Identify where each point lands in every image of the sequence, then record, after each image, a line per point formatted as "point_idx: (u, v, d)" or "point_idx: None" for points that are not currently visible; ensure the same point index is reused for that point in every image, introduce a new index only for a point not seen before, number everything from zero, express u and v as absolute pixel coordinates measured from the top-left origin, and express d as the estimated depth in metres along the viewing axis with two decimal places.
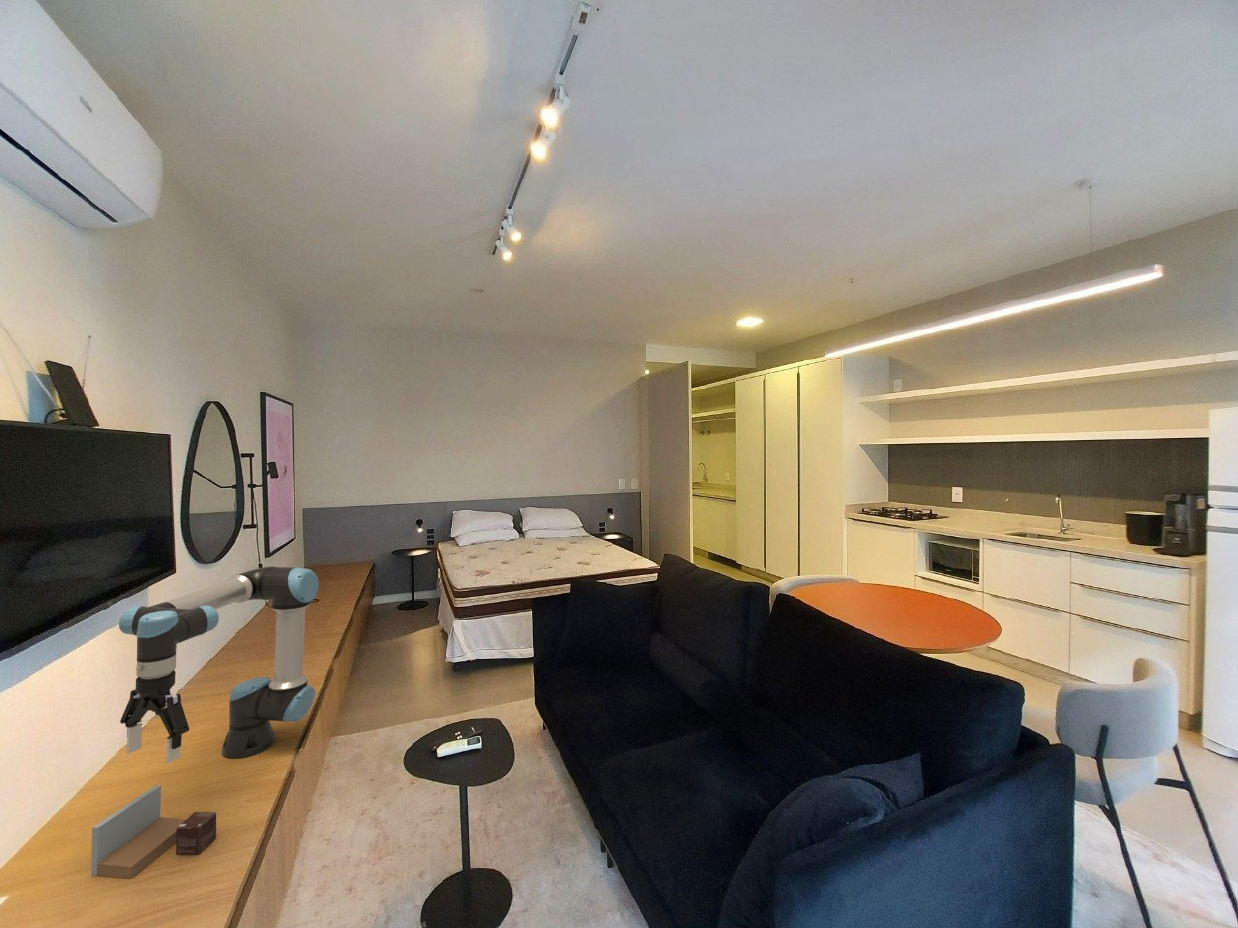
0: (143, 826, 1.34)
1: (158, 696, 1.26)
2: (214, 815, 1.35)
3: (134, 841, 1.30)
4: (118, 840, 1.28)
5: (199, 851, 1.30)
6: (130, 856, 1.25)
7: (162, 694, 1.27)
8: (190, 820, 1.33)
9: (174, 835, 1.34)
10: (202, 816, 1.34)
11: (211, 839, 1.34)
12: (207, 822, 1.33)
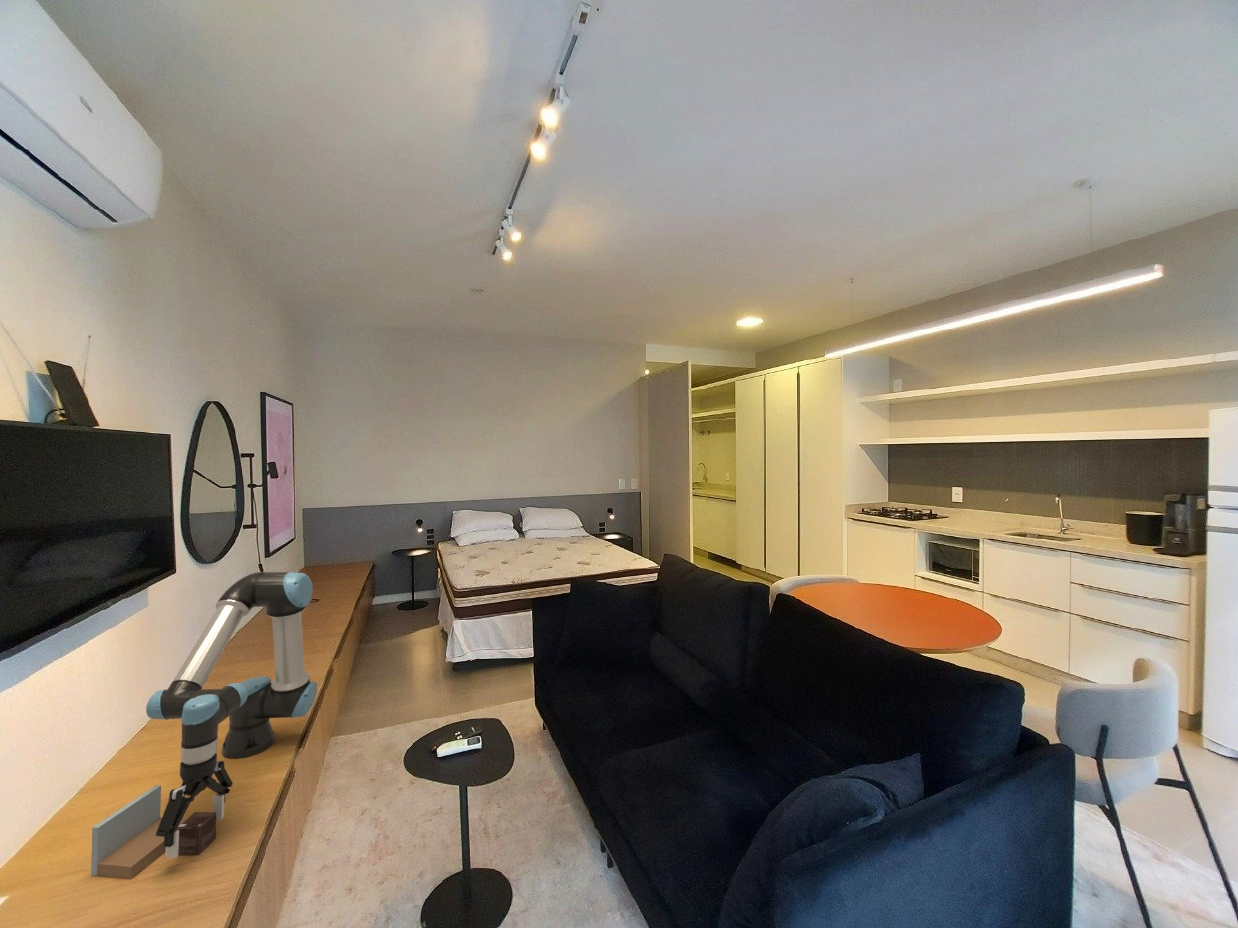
0: (143, 826, 1.34)
1: None
2: (214, 815, 1.35)
3: (134, 841, 1.30)
4: (118, 840, 1.28)
5: (199, 851, 1.30)
6: (130, 856, 1.25)
7: None
8: (190, 820, 1.33)
9: None
10: (202, 816, 1.34)
11: (211, 839, 1.34)
12: (207, 822, 1.33)
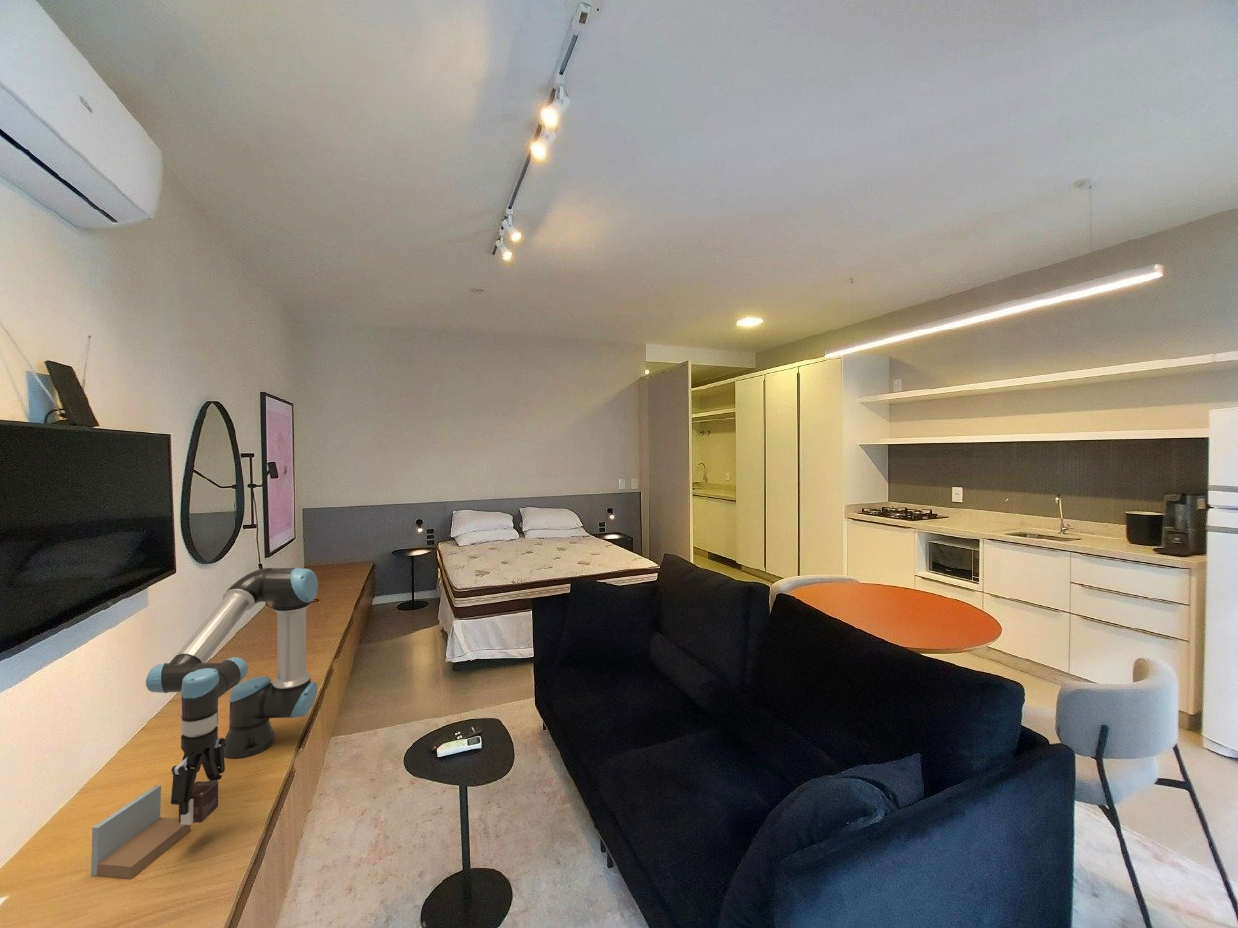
0: (143, 826, 1.34)
1: None
2: (216, 784, 1.36)
3: (134, 841, 1.30)
4: (118, 840, 1.28)
5: (201, 819, 1.31)
6: (130, 856, 1.25)
7: None
8: None
9: (174, 835, 1.34)
10: (204, 785, 1.35)
11: (213, 808, 1.35)
12: (209, 791, 1.33)
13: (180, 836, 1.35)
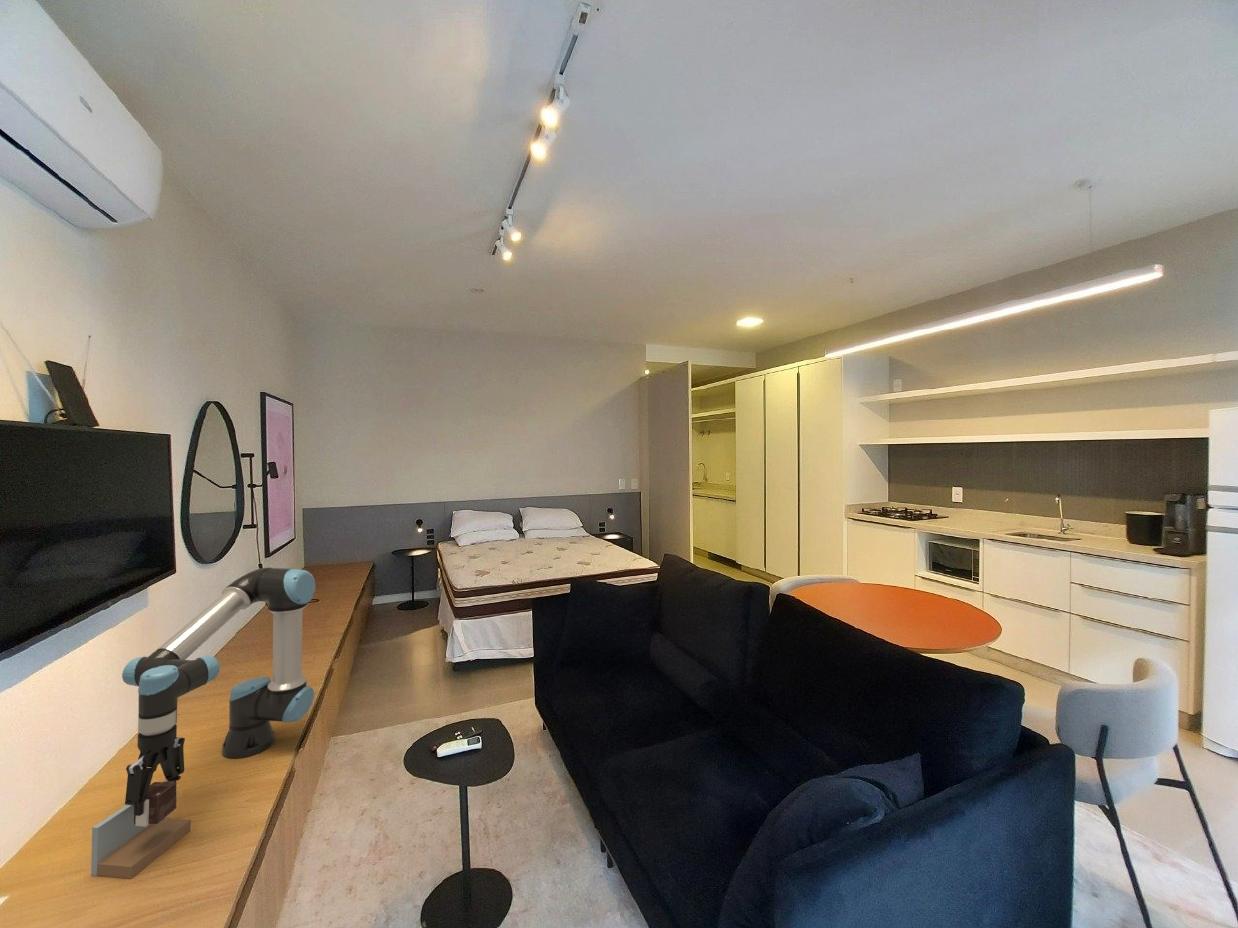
0: (143, 826, 1.34)
1: None
2: (174, 785, 1.33)
3: (134, 841, 1.30)
4: (118, 840, 1.28)
5: (157, 820, 1.28)
6: (130, 856, 1.25)
7: None
8: (149, 789, 1.30)
9: (174, 835, 1.34)
10: (161, 786, 1.32)
11: (171, 809, 1.32)
12: (166, 791, 1.30)
13: (180, 836, 1.35)
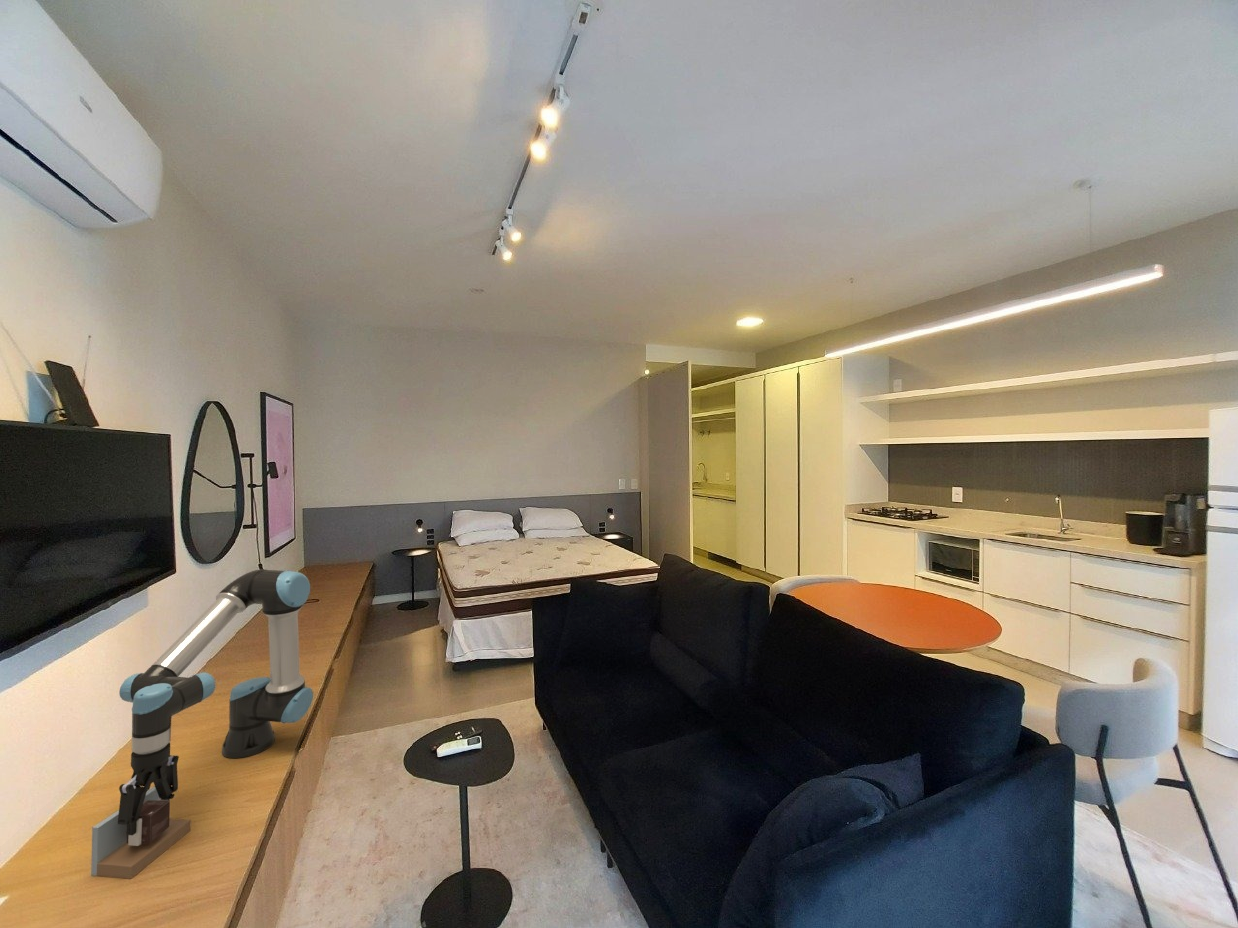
0: None
1: None
2: (167, 803, 1.33)
3: None
4: (118, 840, 1.28)
5: (150, 840, 1.28)
6: (130, 856, 1.25)
7: None
8: (142, 808, 1.30)
9: (174, 835, 1.34)
10: (155, 804, 1.32)
11: (164, 828, 1.32)
12: (159, 810, 1.30)
13: (180, 836, 1.35)
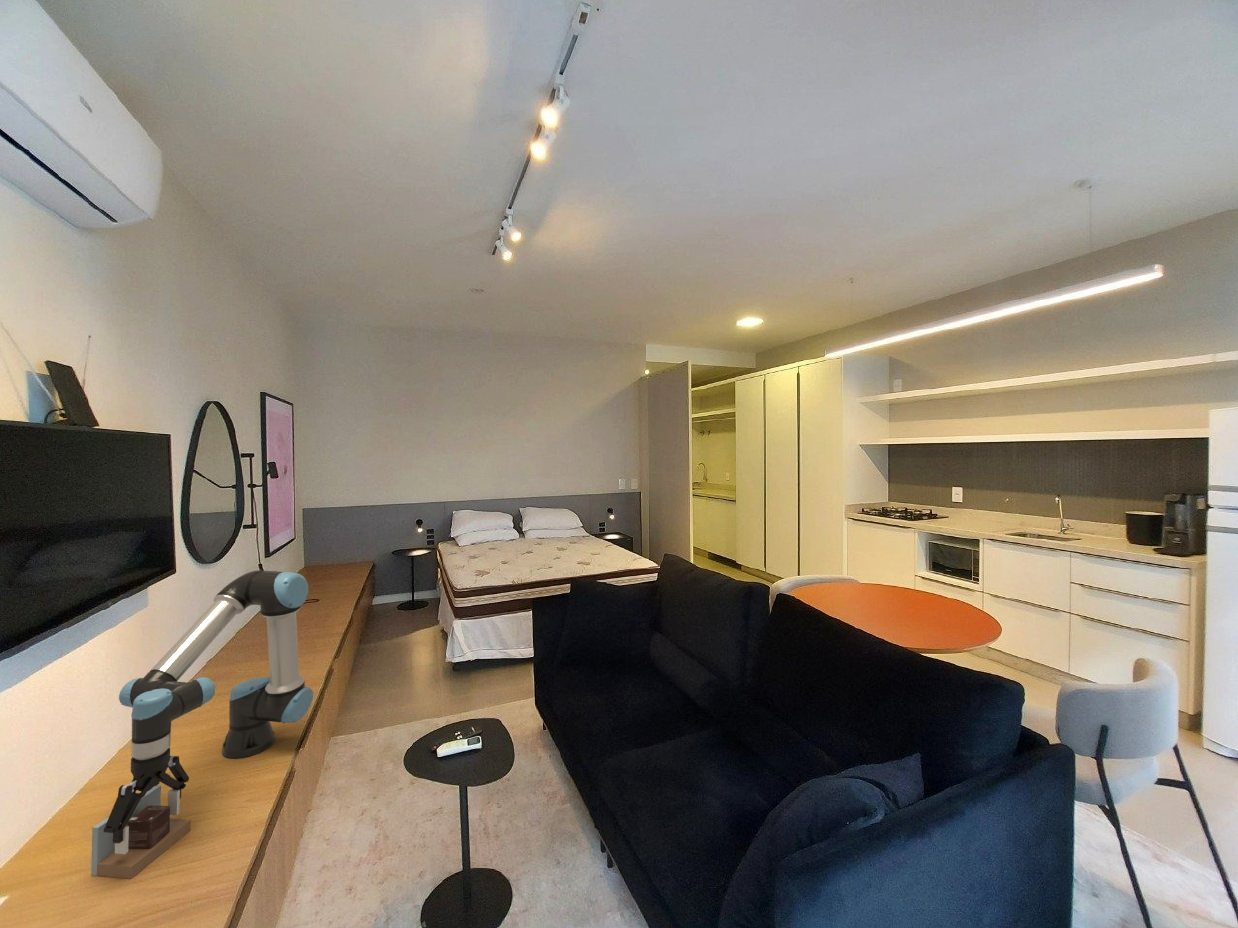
0: None
1: None
2: (167, 808, 1.33)
3: None
4: None
5: (150, 845, 1.28)
6: (130, 856, 1.25)
7: (133, 777, 1.27)
8: (142, 813, 1.30)
9: (174, 835, 1.34)
10: (155, 809, 1.32)
11: (164, 833, 1.32)
12: (159, 815, 1.30)
13: (180, 836, 1.35)
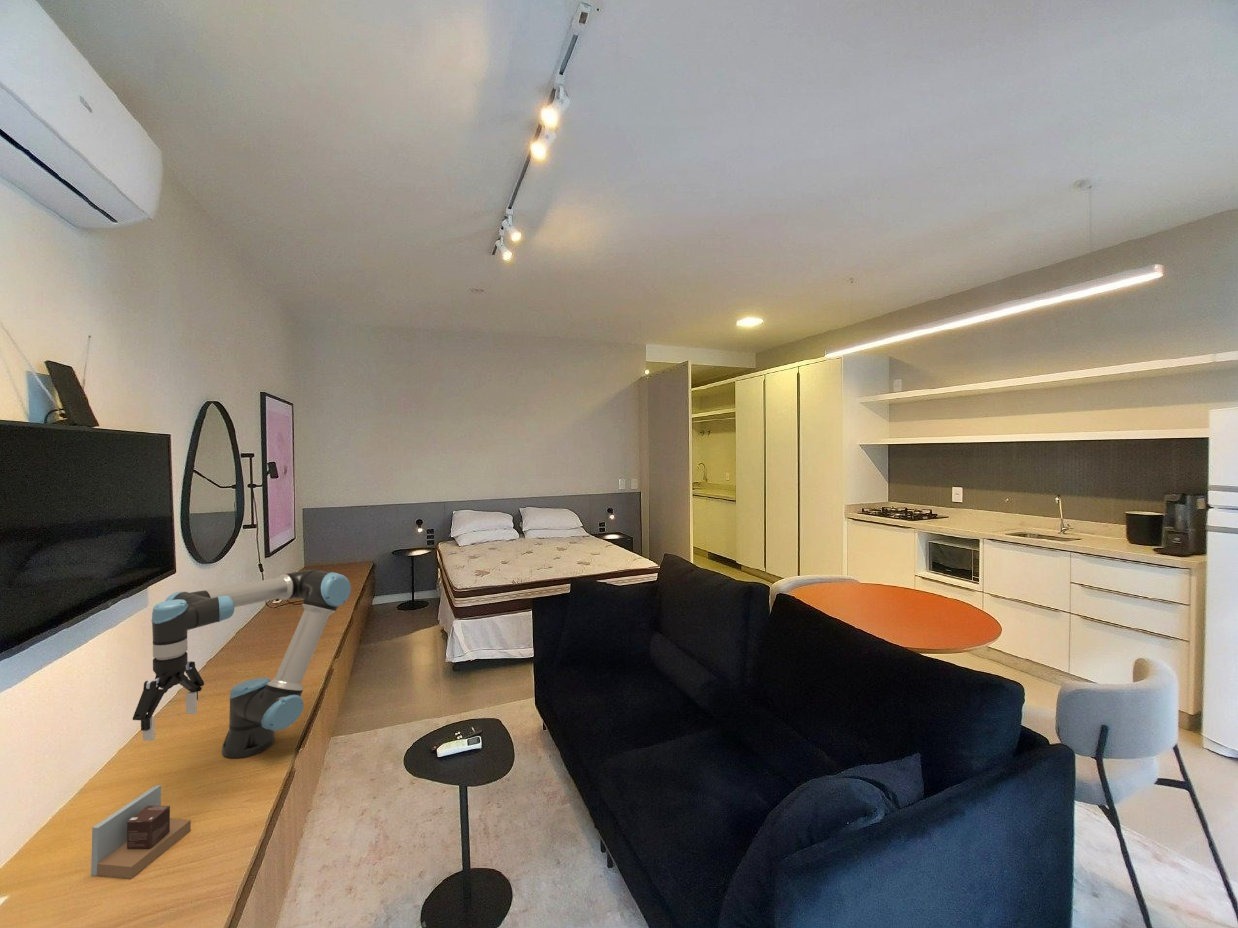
0: None
1: None
2: (167, 808, 1.33)
3: None
4: (118, 840, 1.28)
5: (150, 845, 1.28)
6: (130, 856, 1.25)
7: None
8: (142, 813, 1.30)
9: (174, 835, 1.34)
10: (155, 809, 1.32)
11: (164, 833, 1.32)
12: (159, 815, 1.30)
13: (180, 836, 1.35)
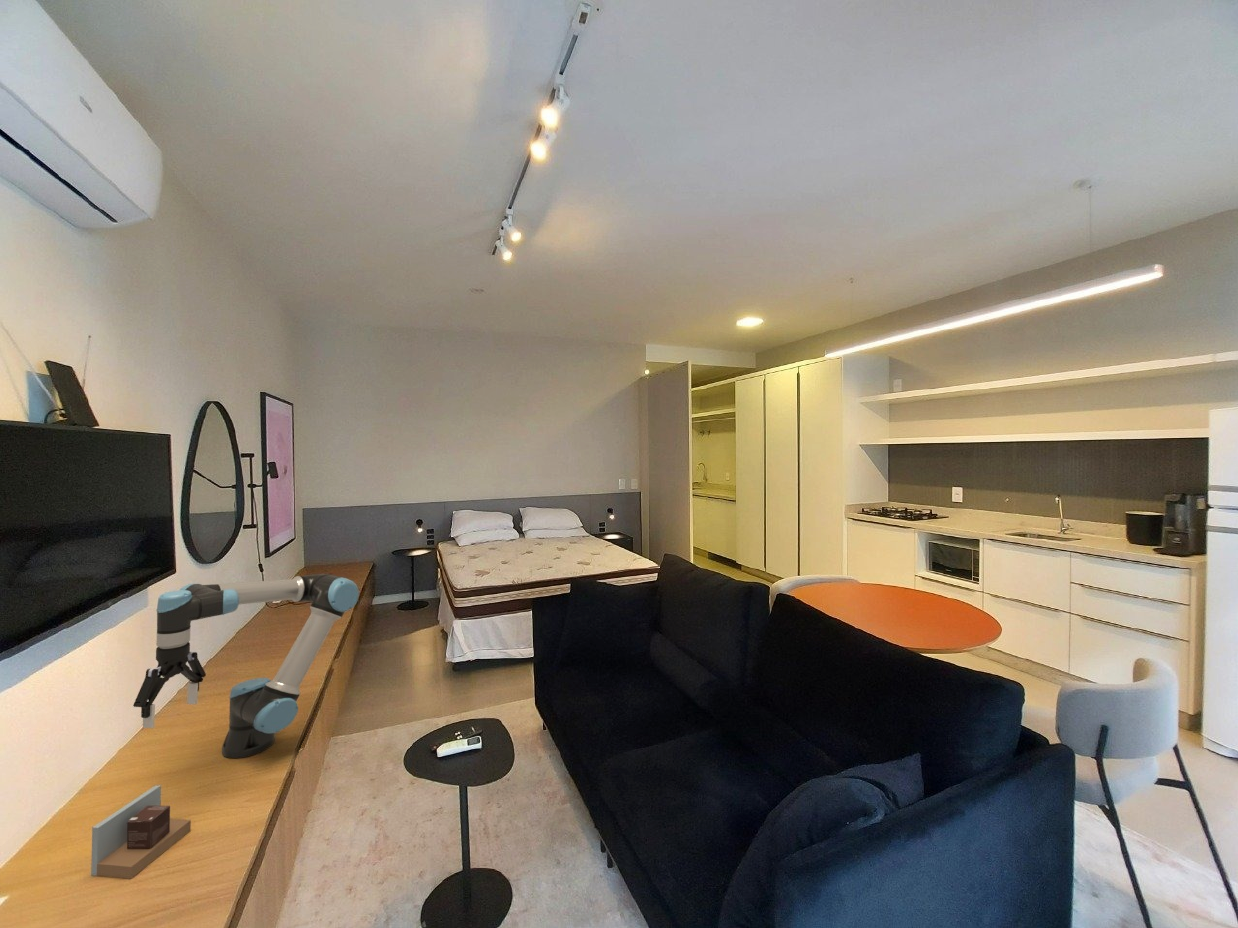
0: None
1: None
2: (167, 808, 1.33)
3: None
4: (118, 840, 1.28)
5: (150, 845, 1.28)
6: (130, 856, 1.25)
7: (158, 664, 1.44)
8: (142, 813, 1.30)
9: (174, 835, 1.34)
10: (155, 809, 1.32)
11: (164, 833, 1.32)
12: (159, 816, 1.30)
13: (180, 836, 1.35)
